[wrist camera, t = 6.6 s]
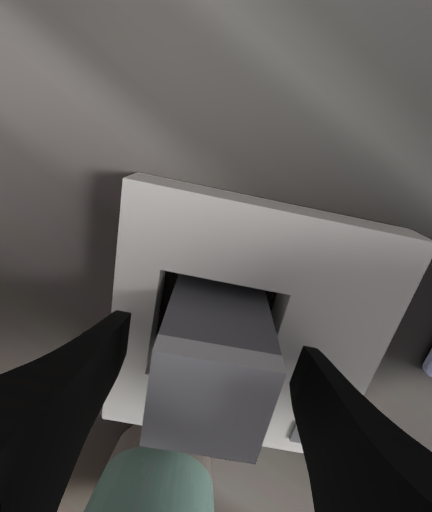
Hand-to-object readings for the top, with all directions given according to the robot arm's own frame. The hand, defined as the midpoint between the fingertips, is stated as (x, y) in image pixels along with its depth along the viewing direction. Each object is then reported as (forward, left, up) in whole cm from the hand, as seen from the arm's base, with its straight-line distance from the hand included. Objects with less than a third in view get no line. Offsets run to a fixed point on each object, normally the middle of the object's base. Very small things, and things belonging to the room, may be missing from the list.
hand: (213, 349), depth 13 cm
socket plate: (-1, 0, -3) cm, 3 cm away
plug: (0, 0, -3) cm, 3 cm away
